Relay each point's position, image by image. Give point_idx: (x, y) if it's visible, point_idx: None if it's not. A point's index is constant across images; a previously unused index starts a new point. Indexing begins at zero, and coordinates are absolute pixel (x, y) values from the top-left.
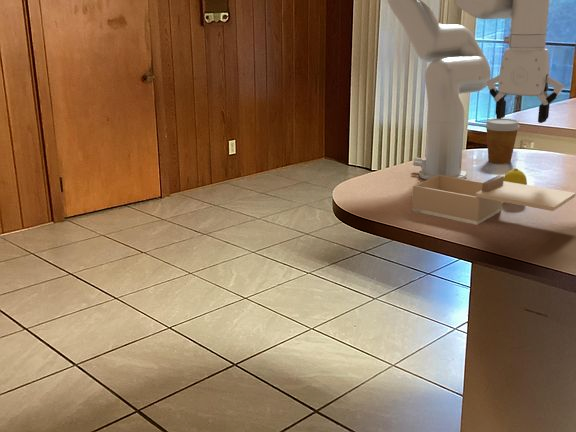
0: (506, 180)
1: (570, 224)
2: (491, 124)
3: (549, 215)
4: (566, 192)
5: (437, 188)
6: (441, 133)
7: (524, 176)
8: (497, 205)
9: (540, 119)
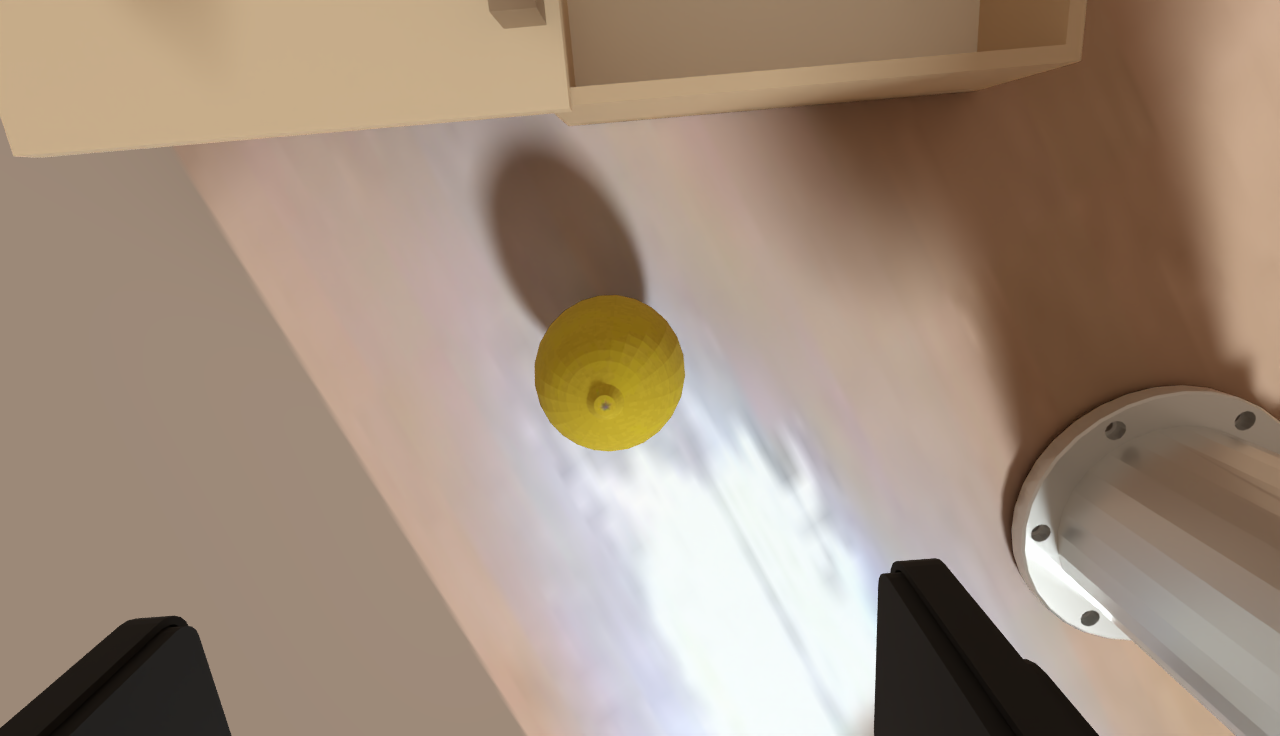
0: (633, 314)
1: (188, 164)
2: None
3: (345, 236)
4: (58, 122)
5: (1010, 37)
6: None
7: (542, 395)
8: None
9: (101, 649)
